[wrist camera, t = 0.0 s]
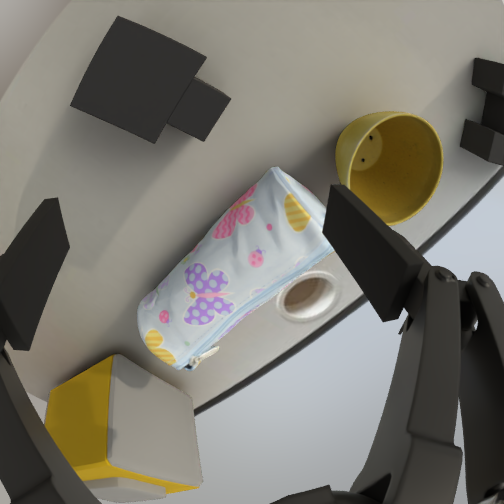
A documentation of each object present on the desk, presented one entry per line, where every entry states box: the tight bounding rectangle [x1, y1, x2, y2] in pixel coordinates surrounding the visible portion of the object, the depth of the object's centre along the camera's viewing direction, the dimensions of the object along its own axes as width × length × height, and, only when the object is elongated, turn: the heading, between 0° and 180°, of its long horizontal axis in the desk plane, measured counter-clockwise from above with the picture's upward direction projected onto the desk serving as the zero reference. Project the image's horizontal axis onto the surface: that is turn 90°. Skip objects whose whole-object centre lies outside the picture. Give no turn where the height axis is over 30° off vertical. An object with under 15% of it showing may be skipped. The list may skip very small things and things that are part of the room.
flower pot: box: [335, 111, 443, 226], centre depth 25 cm, size 10×10×7 cm
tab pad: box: [70, 16, 231, 144], centre depth 20 cm, size 7×10×5 cm
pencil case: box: [137, 167, 335, 371], centre depth 28 cm, size 21×9×10 cm, turn 135°
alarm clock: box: [44, 354, 203, 503], centre depth 35 cm, size 20×16×18 cm
